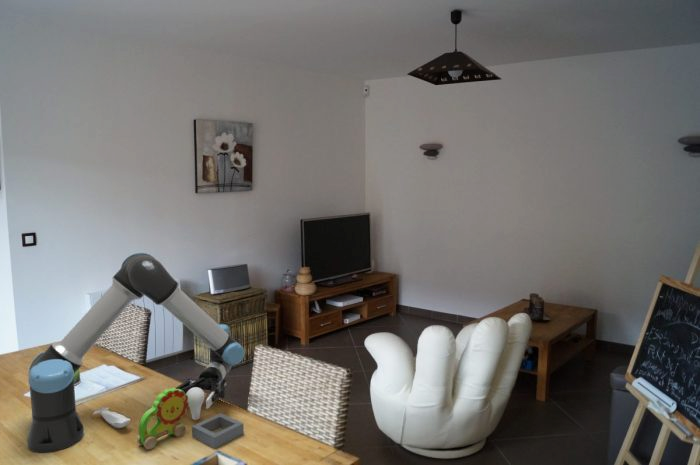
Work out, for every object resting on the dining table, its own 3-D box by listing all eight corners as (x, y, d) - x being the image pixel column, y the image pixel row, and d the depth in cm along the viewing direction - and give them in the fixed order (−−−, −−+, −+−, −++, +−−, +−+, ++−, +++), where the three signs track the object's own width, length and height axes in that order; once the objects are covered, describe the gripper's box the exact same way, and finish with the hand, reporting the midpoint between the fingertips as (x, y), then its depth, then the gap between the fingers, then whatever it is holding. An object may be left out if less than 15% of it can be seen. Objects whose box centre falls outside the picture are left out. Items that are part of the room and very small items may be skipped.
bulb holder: (214, 448, 158) (214, 437, 158) (192, 437, 165) (191, 426, 165) (243, 434, 167) (243, 423, 167) (221, 423, 174) (220, 413, 173)
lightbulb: (208, 415, 179) (207, 384, 178) (201, 424, 173) (200, 392, 172) (190, 415, 180) (189, 383, 178) (183, 423, 174) (181, 391, 172)
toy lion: (146, 452, 157) (143, 403, 155) (136, 446, 160) (133, 397, 158) (192, 431, 169) (191, 385, 167) (182, 426, 172) (181, 381, 170)
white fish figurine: (119, 435, 166) (118, 423, 166) (92, 419, 178) (91, 407, 177) (135, 428, 170) (134, 416, 170) (108, 413, 182) (108, 402, 181)
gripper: (243, 387, 193) (225, 416, 171) (181, 385, 194) (156, 414, 172) (243, 367, 192) (225, 393, 170) (180, 365, 193) (155, 391, 171)
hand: (190, 403), depth 171 cm, fingers open, 10 cm apart
